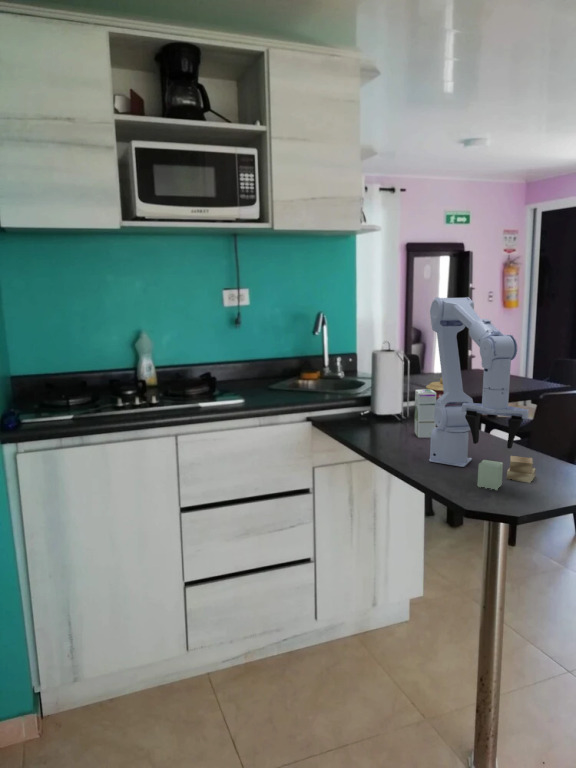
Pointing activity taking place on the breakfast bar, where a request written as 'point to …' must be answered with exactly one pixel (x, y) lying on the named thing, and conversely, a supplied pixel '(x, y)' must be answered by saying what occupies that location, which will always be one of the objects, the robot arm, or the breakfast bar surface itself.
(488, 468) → the block
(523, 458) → the slab top
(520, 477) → the slab bottom
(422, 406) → the syrup box
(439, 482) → the breakfast bar surface
